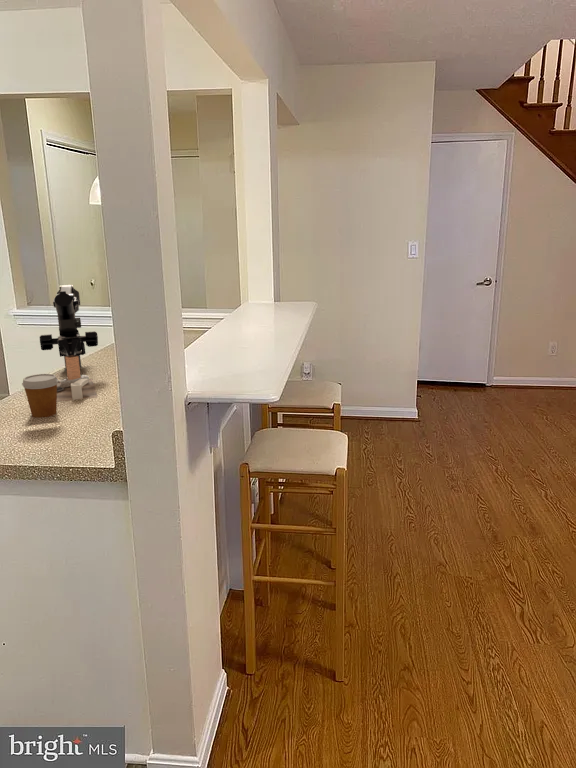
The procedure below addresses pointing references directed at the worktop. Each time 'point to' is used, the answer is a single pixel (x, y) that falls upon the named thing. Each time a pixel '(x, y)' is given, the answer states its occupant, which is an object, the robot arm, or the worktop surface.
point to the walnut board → (87, 392)
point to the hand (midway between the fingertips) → (71, 360)
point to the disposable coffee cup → (41, 394)
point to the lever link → (71, 372)
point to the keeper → (78, 388)
